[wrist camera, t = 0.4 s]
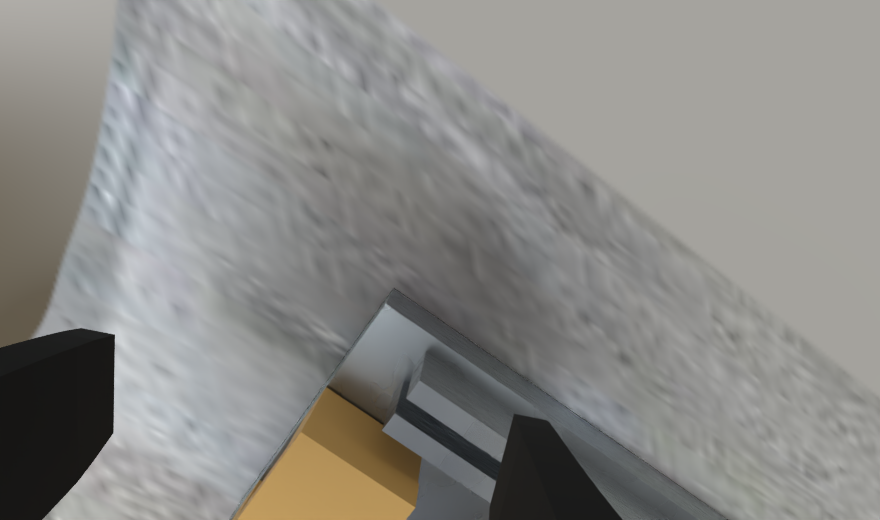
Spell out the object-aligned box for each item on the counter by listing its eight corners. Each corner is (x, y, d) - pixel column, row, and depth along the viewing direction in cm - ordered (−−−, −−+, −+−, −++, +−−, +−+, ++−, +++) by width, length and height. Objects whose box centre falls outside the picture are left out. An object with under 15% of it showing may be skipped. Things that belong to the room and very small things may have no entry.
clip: (330, 568, 21) (306, 643, 18) (238, 509, 21) (197, 575, 18) (424, 449, 20) (415, 507, 17) (327, 384, 20) (300, 432, 17)
